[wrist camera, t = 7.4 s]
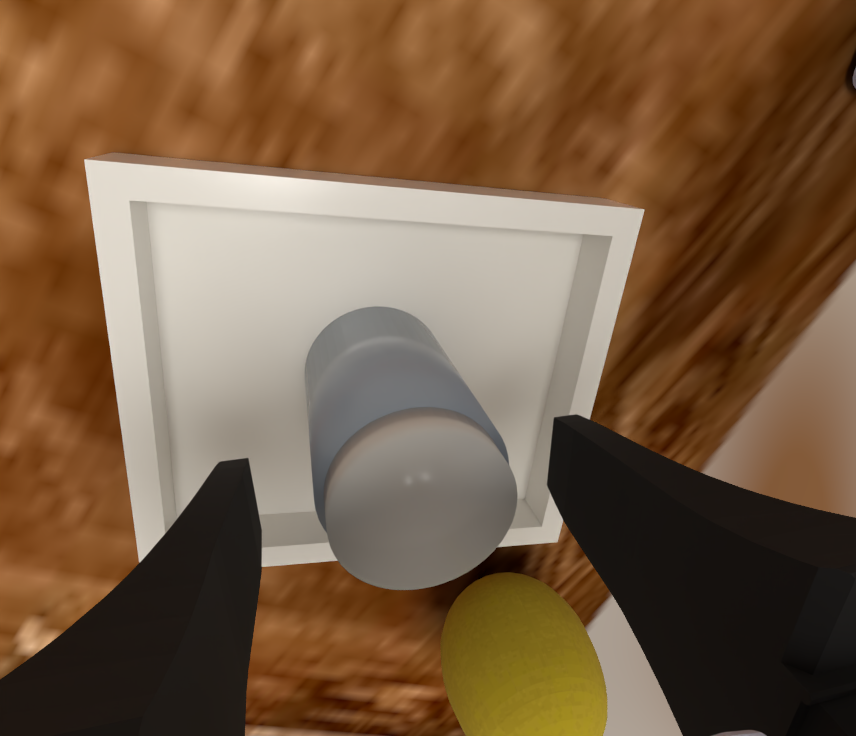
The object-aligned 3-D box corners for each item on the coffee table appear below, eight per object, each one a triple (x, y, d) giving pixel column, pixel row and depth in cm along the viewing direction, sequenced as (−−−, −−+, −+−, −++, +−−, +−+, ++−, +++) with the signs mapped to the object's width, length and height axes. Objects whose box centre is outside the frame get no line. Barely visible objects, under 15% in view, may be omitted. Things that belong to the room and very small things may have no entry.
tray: (604, 198, 17) (644, 209, 15) (533, 504, 22) (557, 542, 20) (112, 152, 14) (83, 159, 12) (156, 528, 19) (141, 576, 17)
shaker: (445, 303, 17) (538, 414, 11) (438, 426, 19) (514, 580, 13) (300, 309, 16) (310, 433, 10) (308, 438, 18) (320, 611, 12)
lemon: (461, 646, 25) (530, 859, 18) (395, 581, 22) (446, 800, 15) (563, 581, 25) (675, 771, 17) (509, 507, 22) (614, 696, 15)
